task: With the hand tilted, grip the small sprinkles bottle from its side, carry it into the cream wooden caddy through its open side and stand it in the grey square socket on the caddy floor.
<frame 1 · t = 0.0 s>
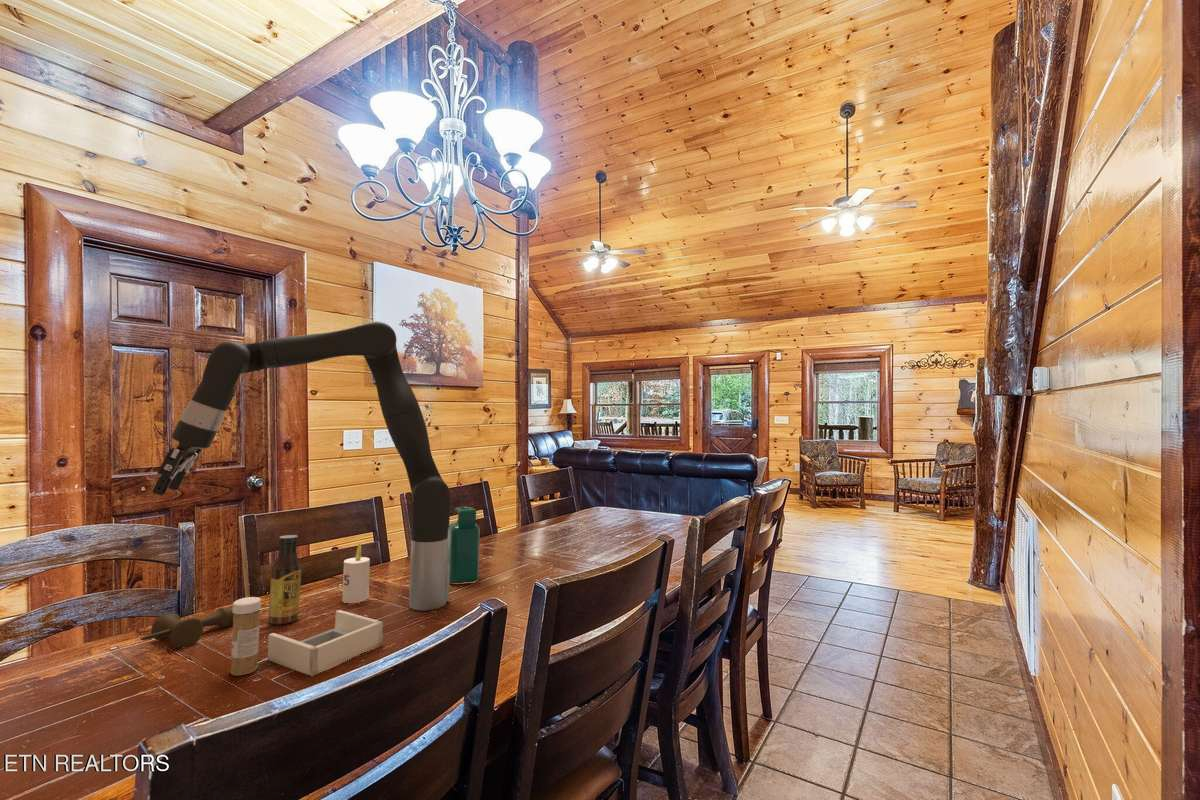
hand: (165, 491, 120), 31 cm above the table, tool tilted 20°, fingers open, 8 cm apart
caddy: (326, 652, 112), on the table
sprinkles bottle: (244, 672, 103), on the table
green bottle: (462, 582, 161), on the table
candle: (355, 600, 143), on the table
sauce bottle: (284, 621, 128), on the table
kendama: (195, 638, 119), on the table
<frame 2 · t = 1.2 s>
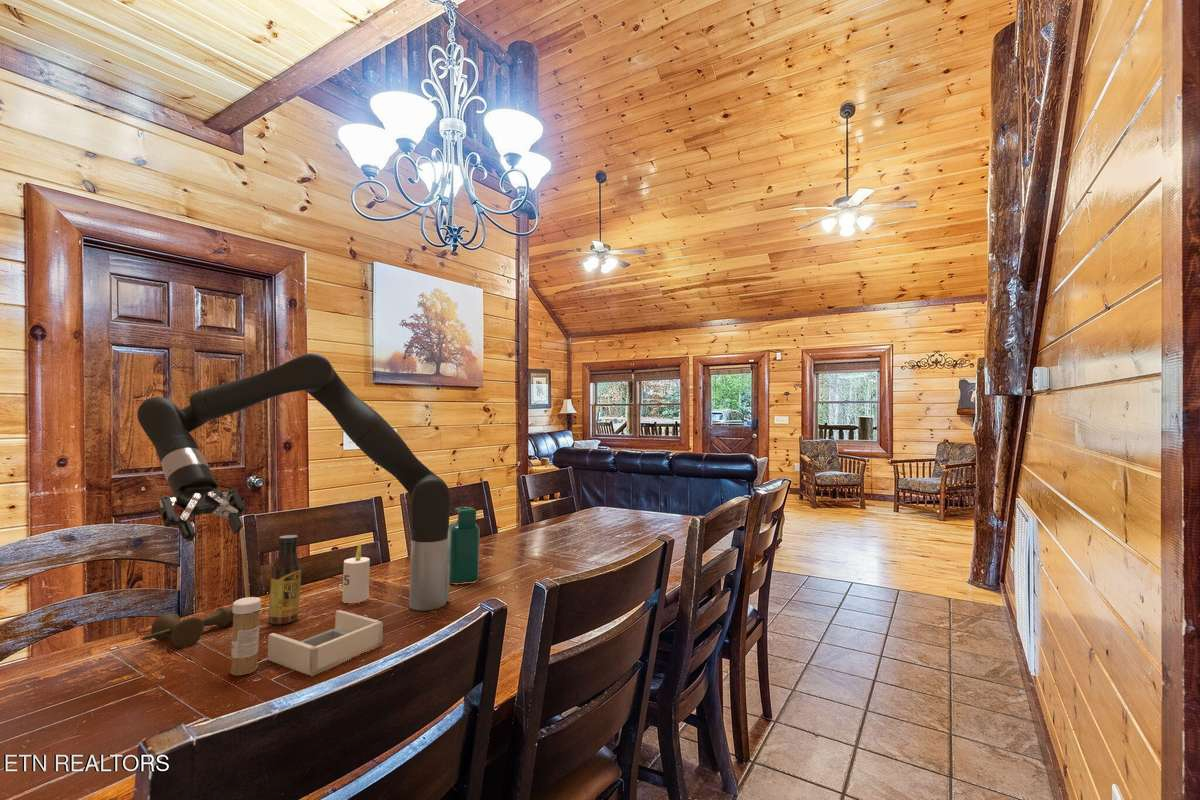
hand: (215, 535, 109), 24 cm above the table, tool tilted 45°, fingers open, 8 cm apart
nothing on the table moved.
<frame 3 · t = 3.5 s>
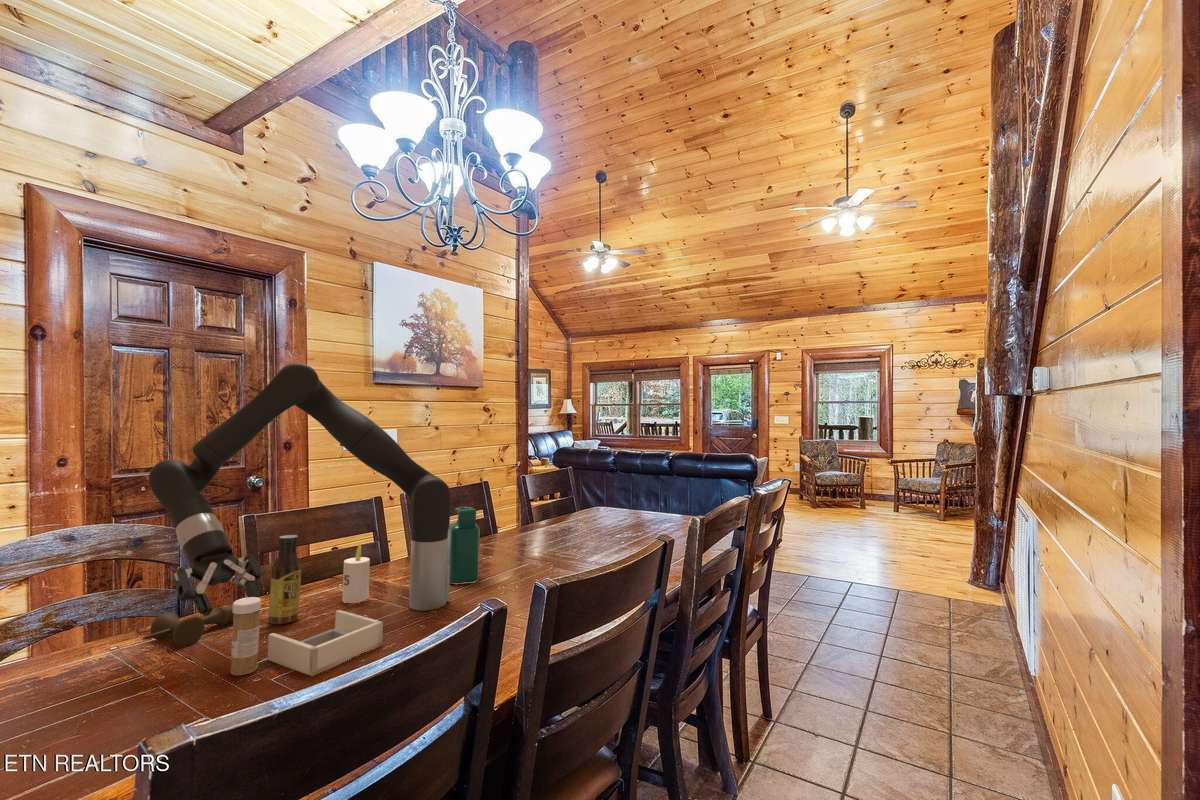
hand: (232, 606, 106), 11 cm above the table, tool tilted 45°, fingers open, 8 cm apart
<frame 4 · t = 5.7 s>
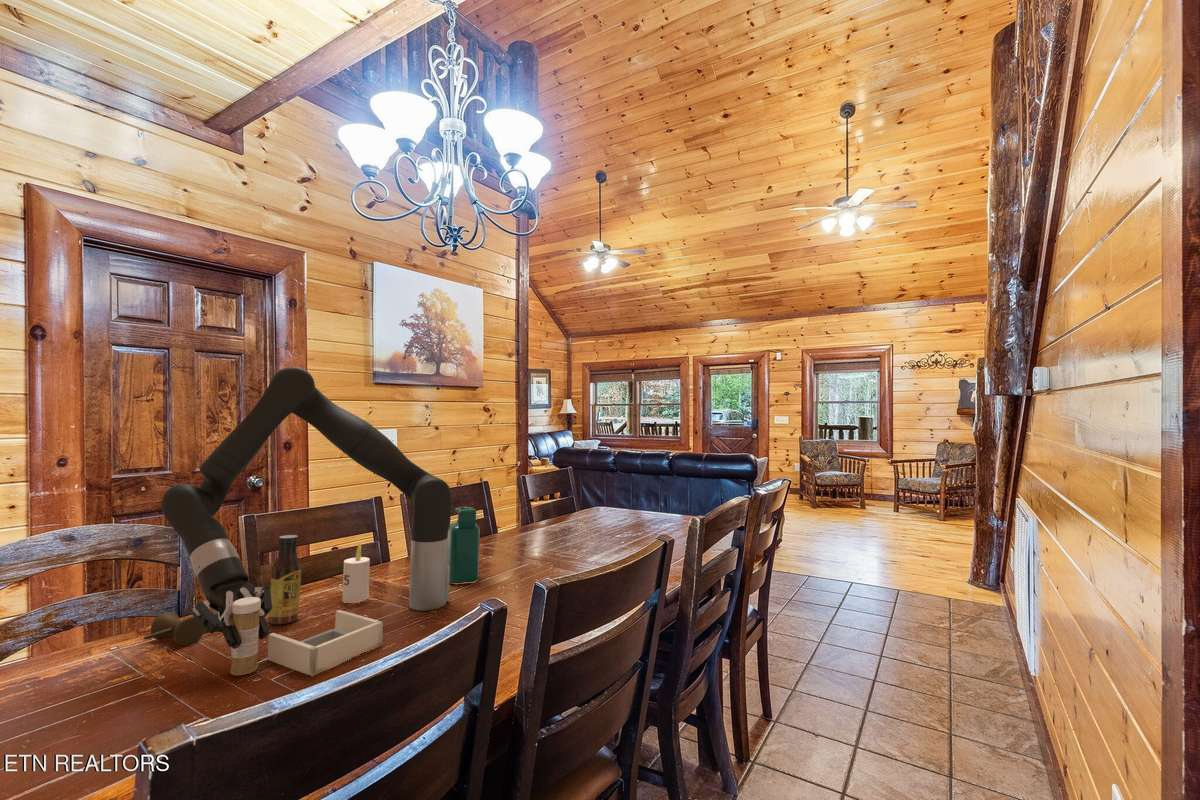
hand: (251, 640, 102), 6 cm above the table, tool tilted 45°, fingers closed on sprinkles bottle, 4 cm apart
sprinkles bottle: (244, 672, 103), on the table, touching gripper
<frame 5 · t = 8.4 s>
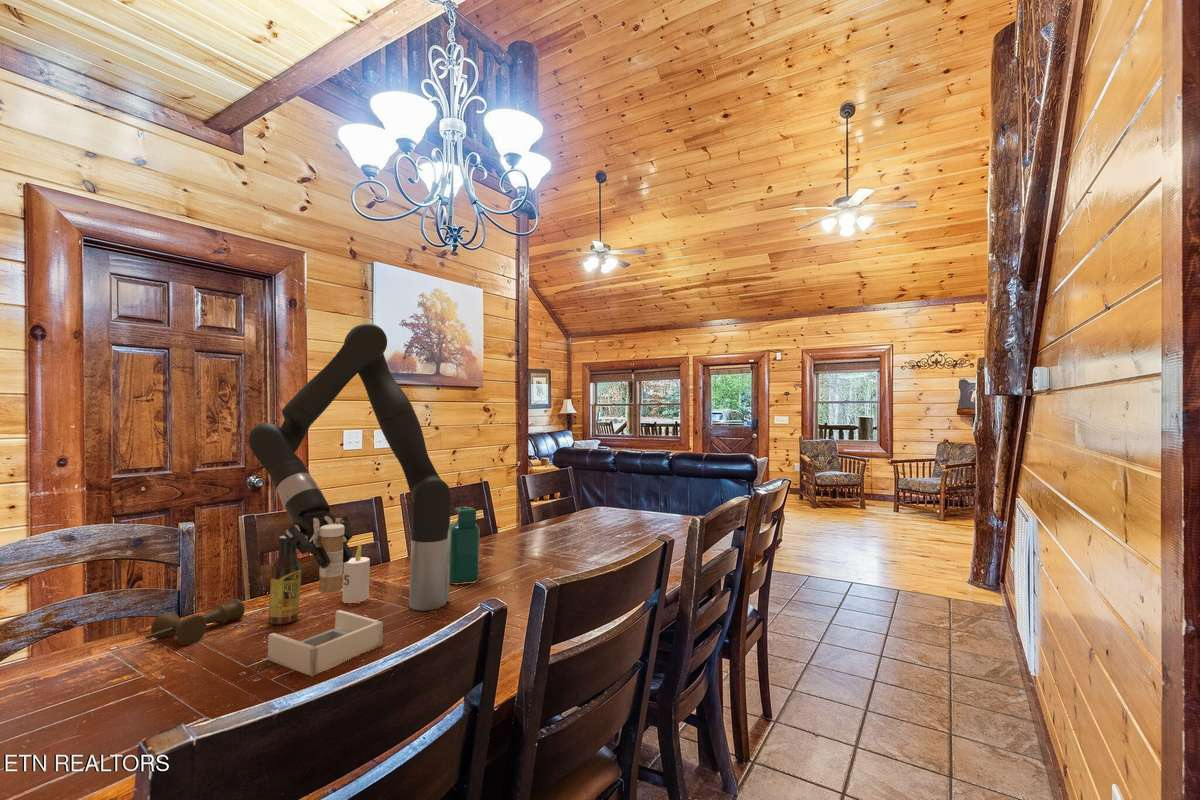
hand: (337, 562, 111), 19 cm above the table, tool tilted 45°, fingers closed on sprinkles bottle, 4 cm apart
sprinkles bottle: (330, 591, 112), point 12 cm above the table, touching gripper
when the fingers open (8 cm above the table, at t = 11.3 s): sprinkles bottle drops 1 cm, resting on caddy.
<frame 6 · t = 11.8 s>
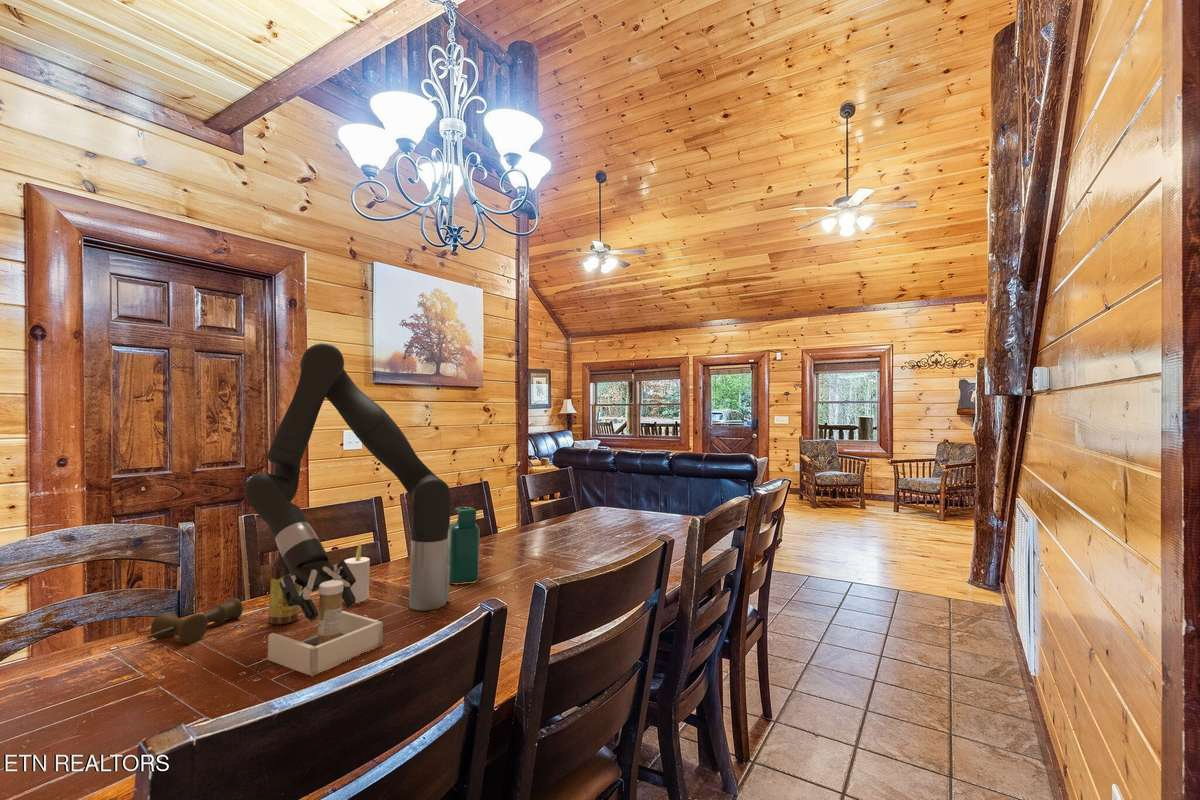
hand: (334, 611, 111), 9 cm above the table, tool tilted 45°, fingers open, 8 cm apart
sprinkles bottle: (328, 649, 112), point 1 cm above the table, touching caddy
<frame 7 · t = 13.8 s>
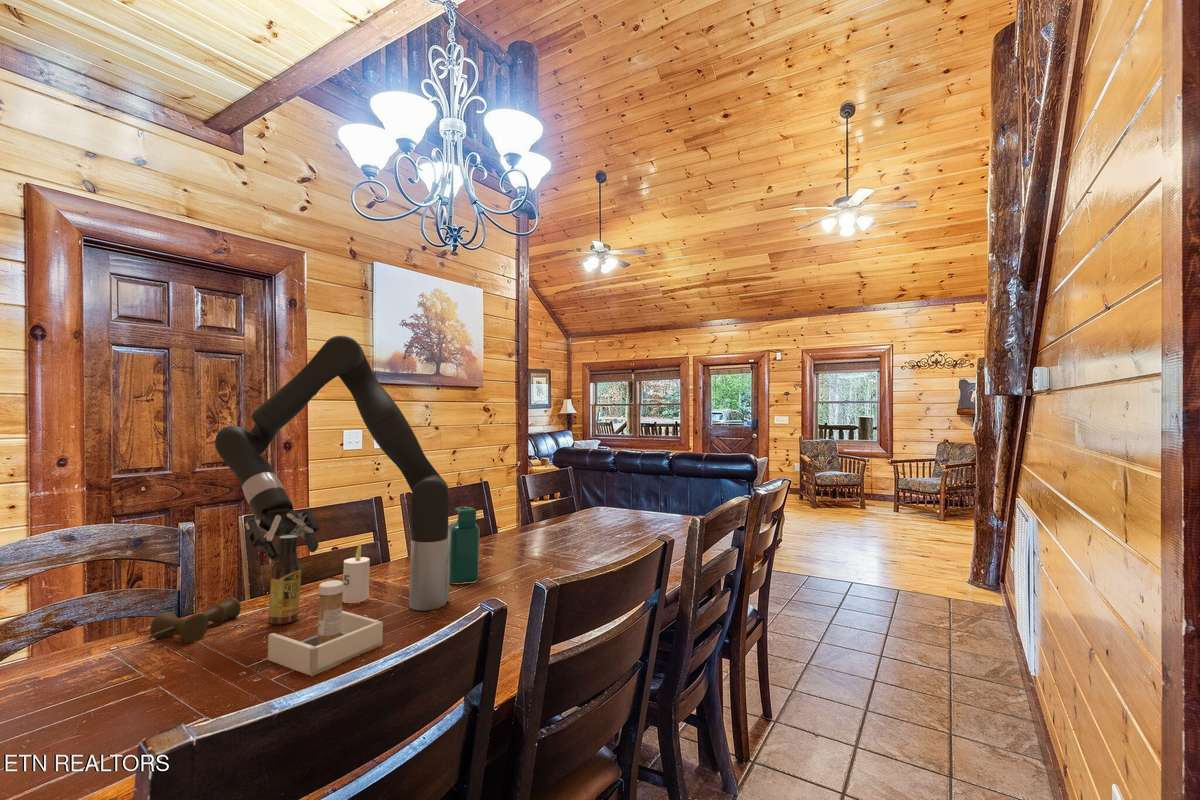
hand: (296, 554, 117), 19 cm above the table, tool tilted 45°, fingers open, 8 cm apart
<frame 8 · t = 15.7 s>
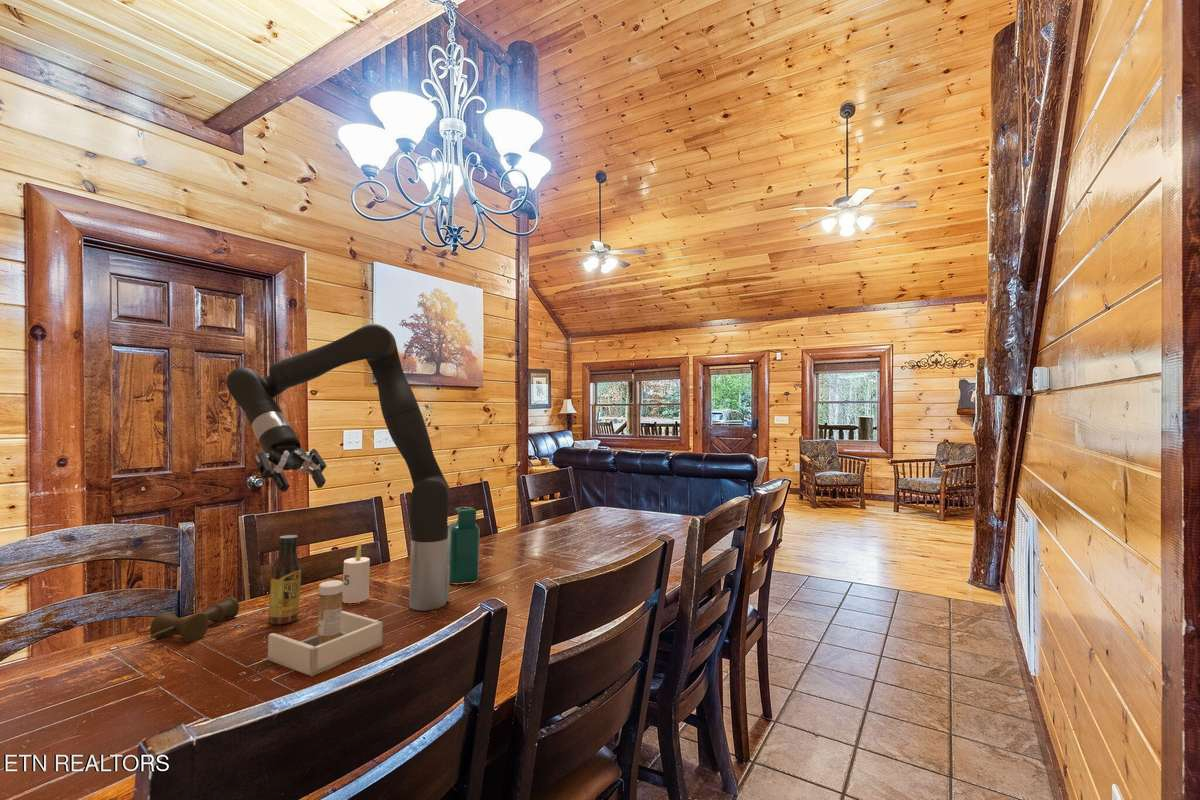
hand: (304, 487, 122), 33 cm above the table, tool tilted 45°, fingers open, 8 cm apart
at the end: sprinkles bottle inside the target area on the caddy (0.4 cm from its centre), point 0.6 cm above the caddy's base; sprinkles bottle tilted 0°; the gripper is holding nothing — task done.
